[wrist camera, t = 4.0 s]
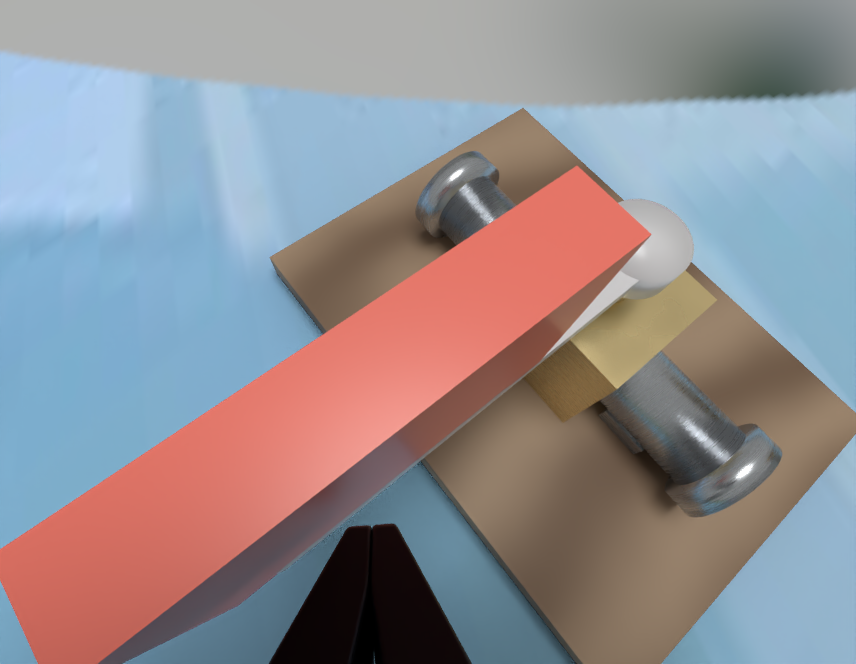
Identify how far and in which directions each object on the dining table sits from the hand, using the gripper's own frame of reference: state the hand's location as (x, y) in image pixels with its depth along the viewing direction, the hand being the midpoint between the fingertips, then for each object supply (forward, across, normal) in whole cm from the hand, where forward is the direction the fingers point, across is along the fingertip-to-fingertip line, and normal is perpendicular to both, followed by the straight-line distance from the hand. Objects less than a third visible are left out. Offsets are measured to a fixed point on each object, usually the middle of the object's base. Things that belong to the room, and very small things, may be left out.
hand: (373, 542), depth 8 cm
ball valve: (+13, -8, +2) cm, 15 cm away
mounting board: (+14, -8, +3) cm, 16 cm away
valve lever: (+5, -3, 0) cm, 6 cm away
